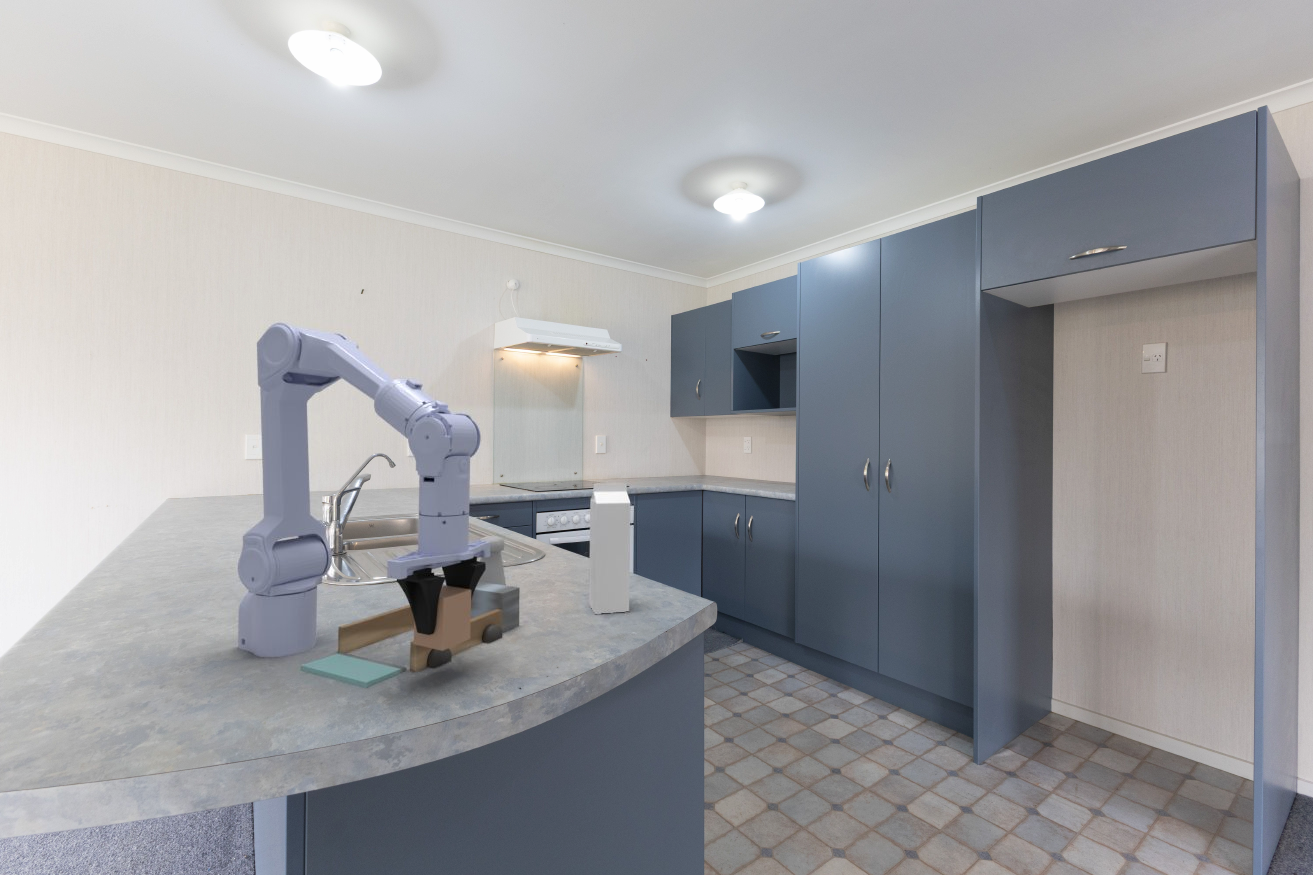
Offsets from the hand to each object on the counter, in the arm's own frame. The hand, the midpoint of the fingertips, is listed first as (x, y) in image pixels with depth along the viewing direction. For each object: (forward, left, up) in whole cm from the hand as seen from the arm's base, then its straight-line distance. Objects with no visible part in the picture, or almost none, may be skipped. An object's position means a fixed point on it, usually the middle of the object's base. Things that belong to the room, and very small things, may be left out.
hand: (441, 626), depth 71 cm
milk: (+2, +37, -7) cm, 38 cm away
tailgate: (-11, -1, -6) cm, 12 cm away
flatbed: (-11, +10, -7) cm, 16 cm away
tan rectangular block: (0, 0, -2) cm, 2 cm away
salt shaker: (-14, +25, -7) cm, 29 cm away
